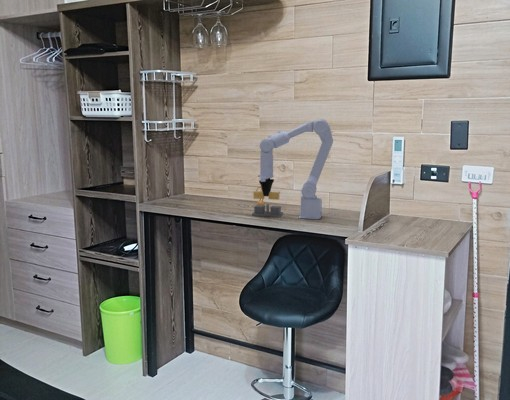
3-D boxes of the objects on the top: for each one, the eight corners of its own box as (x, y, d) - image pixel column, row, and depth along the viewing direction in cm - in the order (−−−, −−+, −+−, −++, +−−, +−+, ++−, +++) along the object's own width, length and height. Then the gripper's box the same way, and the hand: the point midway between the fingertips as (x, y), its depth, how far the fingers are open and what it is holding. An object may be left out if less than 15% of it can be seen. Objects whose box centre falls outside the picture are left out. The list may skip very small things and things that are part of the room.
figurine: (251, 208, 254) (251, 184, 252) (257, 206, 259) (257, 182, 257) (266, 209, 250) (266, 185, 248) (272, 207, 255) (272, 183, 253)
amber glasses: (255, 197, 239) (255, 190, 238) (280, 198, 236) (280, 191, 235) (253, 198, 235) (253, 191, 234) (278, 199, 232) (278, 193, 232)
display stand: (256, 212, 243) (256, 202, 242) (283, 214, 239) (283, 203, 239) (251, 215, 236) (251, 205, 235) (279, 217, 233) (279, 206, 232)
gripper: (261, 163, 240) (261, 192, 242) (253, 167, 226) (253, 197, 228) (276, 164, 238) (276, 193, 240) (269, 167, 224) (269, 198, 226)
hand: (266, 195), depth 234 cm, fingers closed on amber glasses, 2 cm apart
